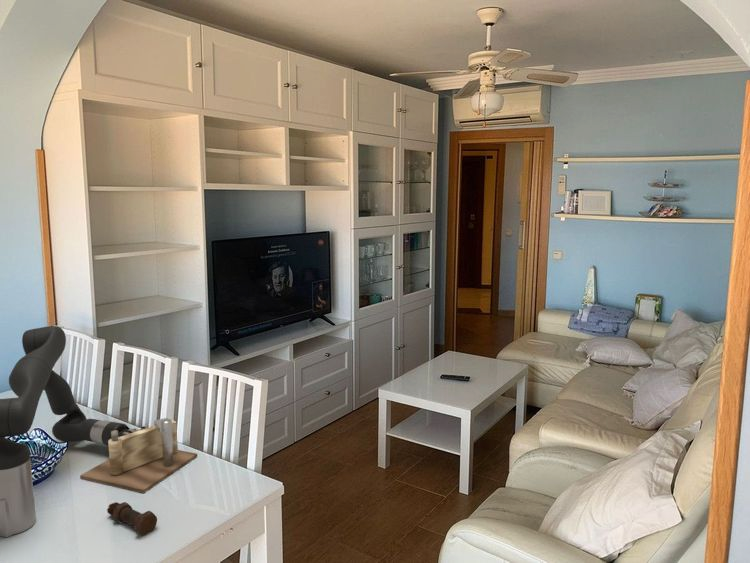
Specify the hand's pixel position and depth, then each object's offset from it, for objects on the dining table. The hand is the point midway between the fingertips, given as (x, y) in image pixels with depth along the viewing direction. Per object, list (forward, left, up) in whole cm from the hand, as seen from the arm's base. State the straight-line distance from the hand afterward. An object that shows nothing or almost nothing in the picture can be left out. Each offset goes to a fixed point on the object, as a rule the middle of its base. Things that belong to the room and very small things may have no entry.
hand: (153, 442), depth 182 cm
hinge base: (-5, +1, -6) cm, 8 cm away
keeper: (-1, -5, -5) cm, 7 cm away
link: (-4, 0, -5) cm, 6 cm away
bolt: (-30, -18, -6) cm, 36 cm away
